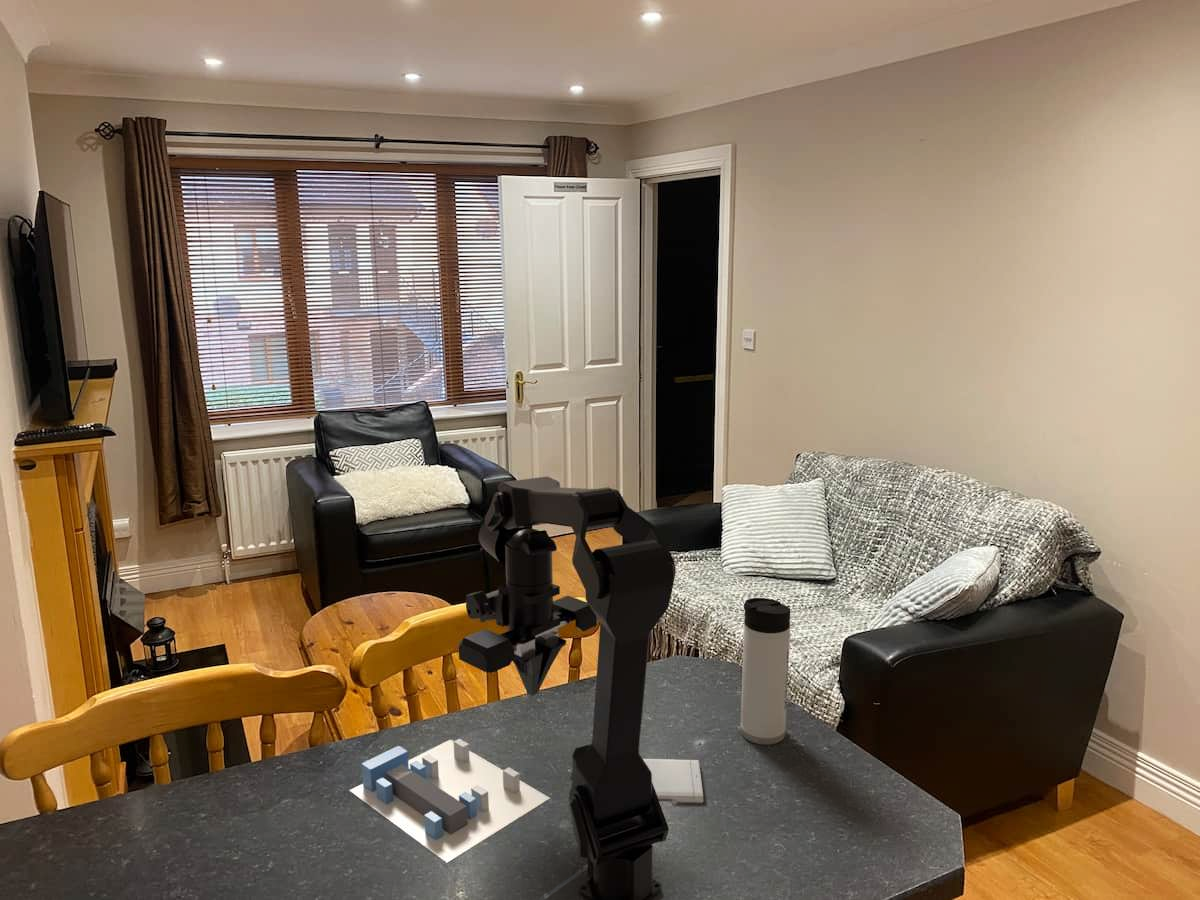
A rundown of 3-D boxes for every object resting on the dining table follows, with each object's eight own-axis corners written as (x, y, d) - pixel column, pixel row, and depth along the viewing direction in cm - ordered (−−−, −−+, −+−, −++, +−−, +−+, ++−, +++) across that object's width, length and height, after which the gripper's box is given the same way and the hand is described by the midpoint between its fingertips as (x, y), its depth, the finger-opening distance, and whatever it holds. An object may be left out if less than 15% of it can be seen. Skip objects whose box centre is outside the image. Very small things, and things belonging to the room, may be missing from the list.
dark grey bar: (467, 824, 104) (466, 806, 104) (450, 834, 103) (449, 815, 102) (403, 781, 113) (402, 764, 112) (386, 790, 111) (385, 772, 111)
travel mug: (729, 728, 126) (733, 597, 121) (767, 718, 128) (773, 589, 124) (755, 750, 120) (760, 614, 116) (794, 739, 123) (800, 605, 118)
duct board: (550, 800, 109) (549, 775, 109) (447, 865, 98) (445, 837, 97) (450, 742, 123) (449, 718, 122) (349, 793, 111) (347, 767, 110)
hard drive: (603, 793, 109) (703, 794, 109) (605, 756, 117) (698, 757, 117) (603, 805, 110) (703, 806, 109) (605, 767, 118) (698, 768, 117)
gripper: (539, 545, 120) (541, 650, 124) (427, 582, 107) (433, 699, 110) (599, 564, 113) (599, 675, 116) (487, 607, 99) (491, 731, 103)
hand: (532, 693), depth 111 cm, fingers closed
